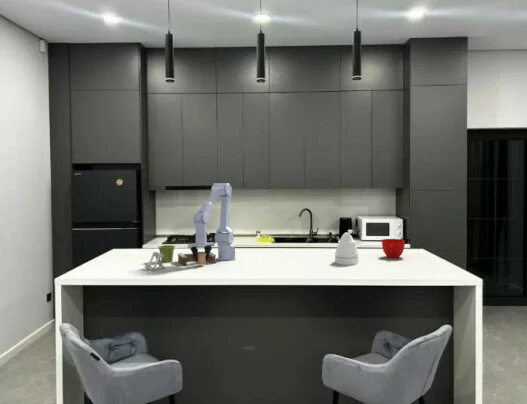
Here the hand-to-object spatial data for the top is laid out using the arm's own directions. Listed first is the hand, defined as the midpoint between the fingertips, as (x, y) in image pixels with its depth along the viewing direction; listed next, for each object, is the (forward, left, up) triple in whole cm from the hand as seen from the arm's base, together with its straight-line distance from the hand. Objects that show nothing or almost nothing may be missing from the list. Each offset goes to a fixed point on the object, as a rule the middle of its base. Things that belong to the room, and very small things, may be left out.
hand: (201, 260), depth 241 cm
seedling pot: (0, 0, -2) cm, 2 cm away
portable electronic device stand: (+24, -1, -3) cm, 24 cm away
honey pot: (-77, +21, -3) cm, 80 cm away
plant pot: (+15, -20, -3) cm, 26 cm away
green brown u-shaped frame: (0, -10, -3) cm, 11 cm away
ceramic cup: (-110, +18, -3) cm, 111 cm away
